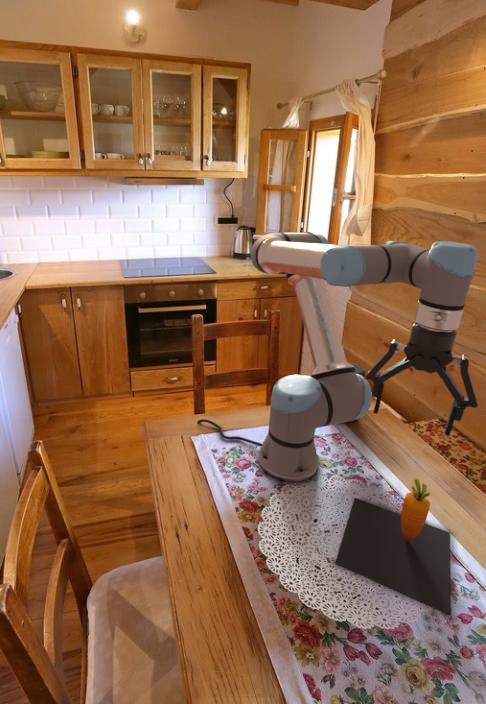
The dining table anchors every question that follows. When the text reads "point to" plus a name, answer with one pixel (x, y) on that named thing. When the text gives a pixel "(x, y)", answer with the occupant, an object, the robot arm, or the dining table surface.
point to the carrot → (414, 511)
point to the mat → (397, 554)
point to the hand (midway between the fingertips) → (410, 420)
